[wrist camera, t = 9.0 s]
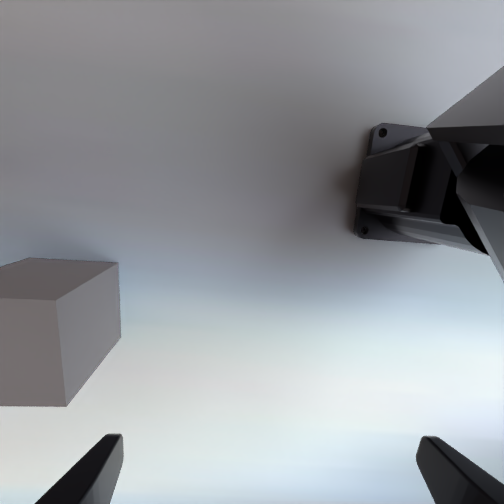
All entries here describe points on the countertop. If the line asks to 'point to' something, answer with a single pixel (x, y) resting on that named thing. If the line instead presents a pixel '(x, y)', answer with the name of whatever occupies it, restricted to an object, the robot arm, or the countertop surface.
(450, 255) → the countertop surface
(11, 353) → the block
